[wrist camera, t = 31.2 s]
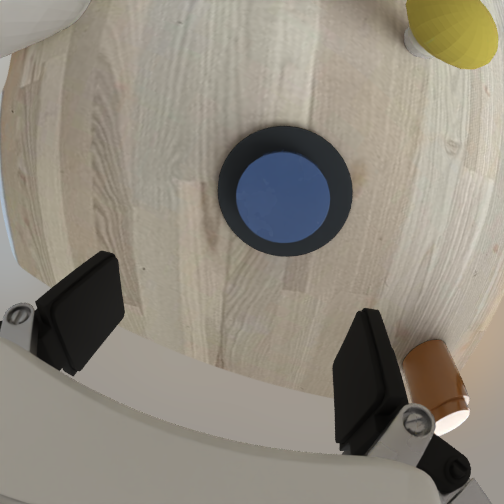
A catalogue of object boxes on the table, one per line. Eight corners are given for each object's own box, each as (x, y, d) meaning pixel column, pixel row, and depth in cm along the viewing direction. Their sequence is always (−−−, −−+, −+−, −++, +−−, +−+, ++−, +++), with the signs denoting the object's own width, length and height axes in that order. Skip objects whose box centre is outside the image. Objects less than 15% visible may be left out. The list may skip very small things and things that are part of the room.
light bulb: (424, 10, 12) (478, -30, 3) (458, 74, 14) (530, 62, 5) (366, 19, 14) (404, -37, 5) (403, 87, 16) (470, 67, 7)
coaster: (333, 264, 24) (334, 267, 23) (214, 241, 25) (212, 243, 24) (363, 142, 19) (365, 143, 18) (227, 117, 20) (225, 117, 19)
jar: (430, 374, 28) (449, 435, 19) (393, 374, 29) (408, 442, 20) (455, 340, 26) (484, 403, 16) (417, 337, 26) (444, 410, 17)
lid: (247, 143, 20) (242, 144, 18) (335, 160, 19) (339, 163, 18) (235, 225, 23) (230, 233, 21) (316, 242, 23) (317, 251, 21)
